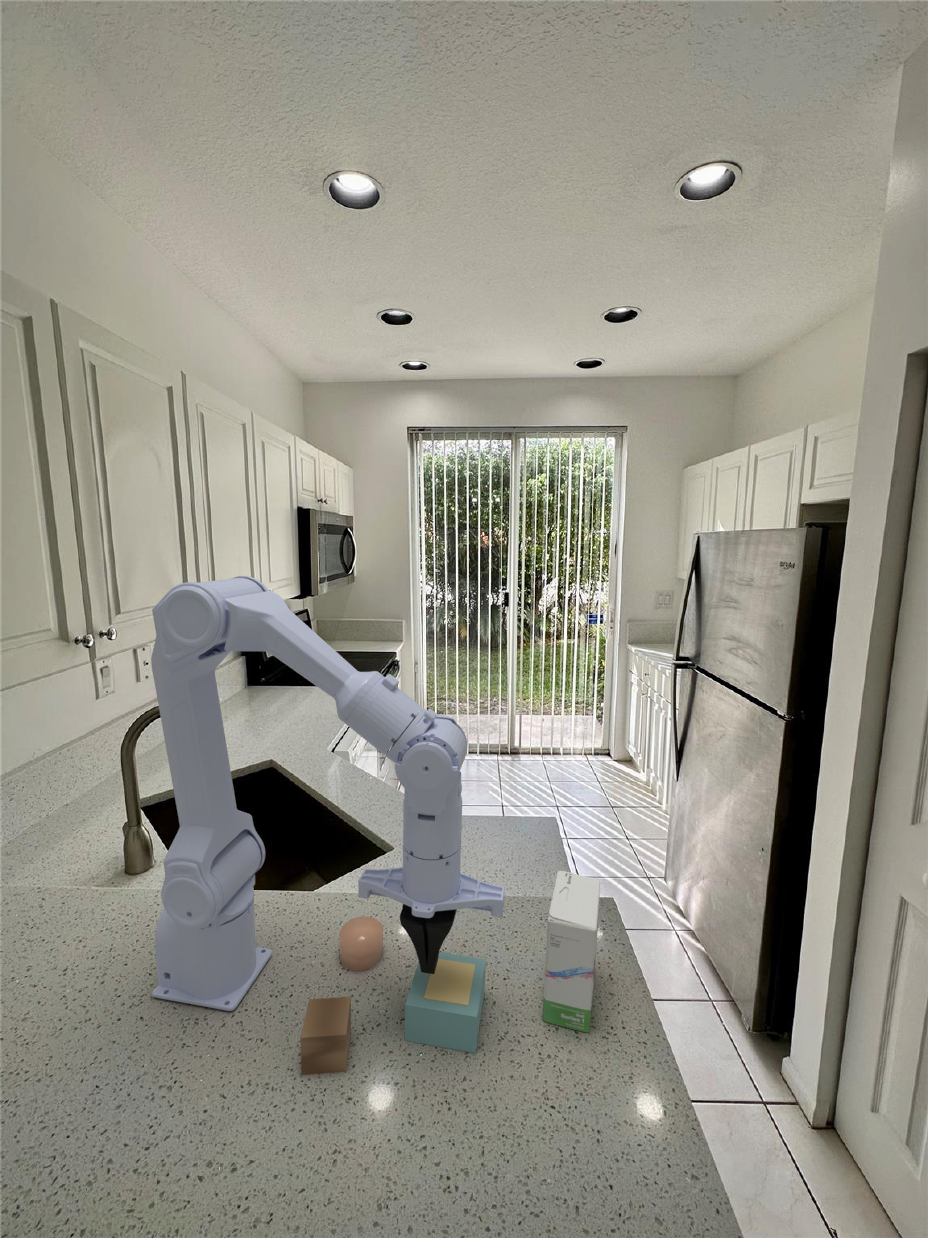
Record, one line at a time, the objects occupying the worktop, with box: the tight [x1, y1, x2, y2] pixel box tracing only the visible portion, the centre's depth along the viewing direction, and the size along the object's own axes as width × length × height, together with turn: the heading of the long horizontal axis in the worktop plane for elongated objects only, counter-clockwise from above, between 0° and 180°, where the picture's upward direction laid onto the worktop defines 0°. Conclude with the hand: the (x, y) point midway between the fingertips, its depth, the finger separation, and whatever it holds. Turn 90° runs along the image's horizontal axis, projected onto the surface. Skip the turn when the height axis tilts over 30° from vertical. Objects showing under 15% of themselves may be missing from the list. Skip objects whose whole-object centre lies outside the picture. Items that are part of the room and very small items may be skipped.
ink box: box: [542, 870, 601, 1033], centre depth 56 cm, size 8×5×12 cm, turn 163°
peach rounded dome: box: [339, 915, 384, 972], centre depth 62 cm, size 5×5×3 cm
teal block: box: [404, 951, 487, 1054], centre depth 54 cm, size 4×7×7 cm
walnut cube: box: [300, 996, 352, 1076], centre depth 50 cm, size 4×4×4 cm
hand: (429, 965), depth 54 cm, fingers closed
